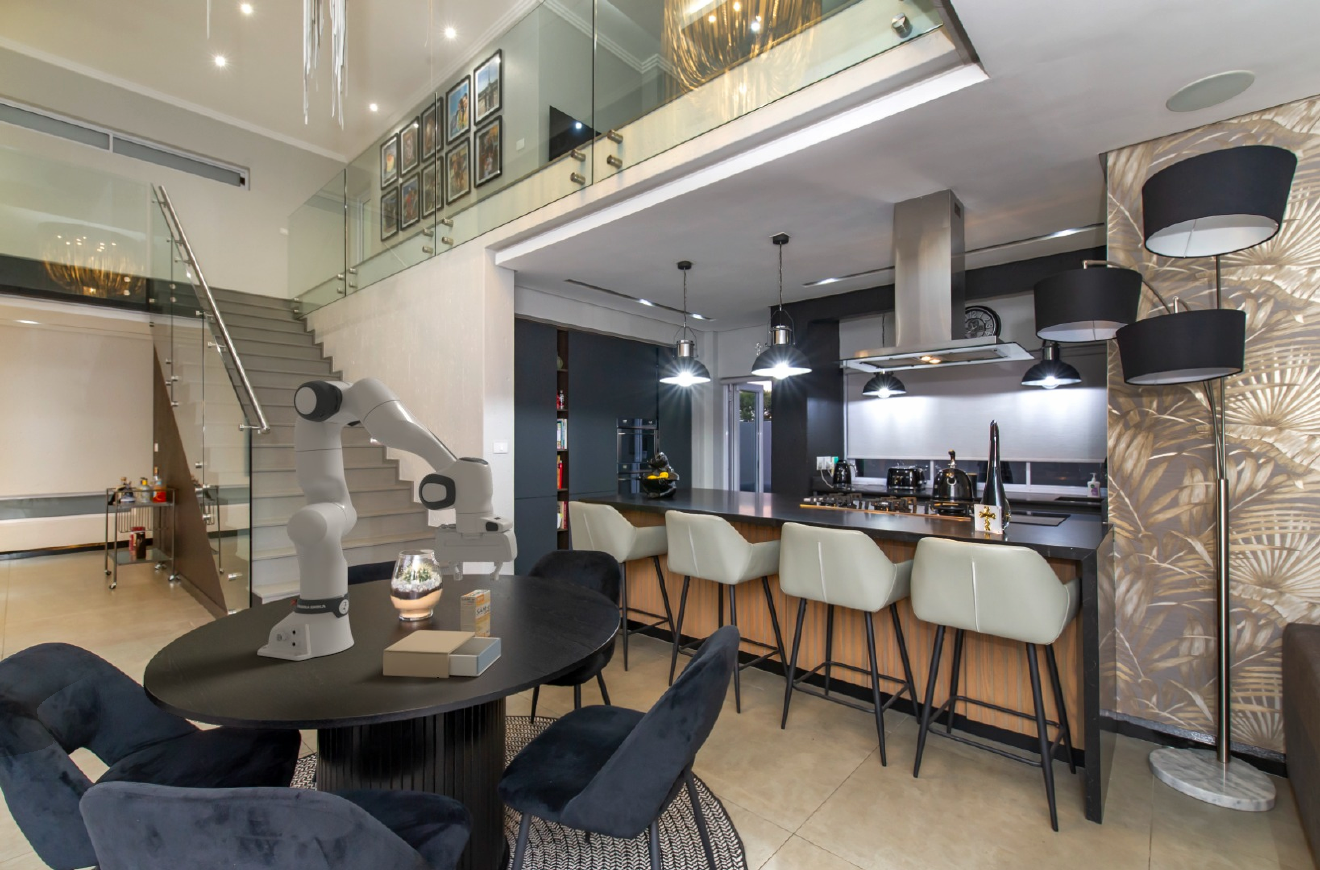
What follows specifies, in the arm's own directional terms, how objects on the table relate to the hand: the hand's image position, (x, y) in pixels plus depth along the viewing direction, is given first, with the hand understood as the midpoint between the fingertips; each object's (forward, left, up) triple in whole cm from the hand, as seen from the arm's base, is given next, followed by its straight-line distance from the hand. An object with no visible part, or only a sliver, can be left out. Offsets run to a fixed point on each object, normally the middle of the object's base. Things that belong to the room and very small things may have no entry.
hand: (476, 580), depth 140 cm
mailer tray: (-4, 0, -21) cm, 21 cm away
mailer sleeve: (-11, 0, -21) cm, 24 cm away
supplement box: (-8, +18, -21) cm, 29 cm away
